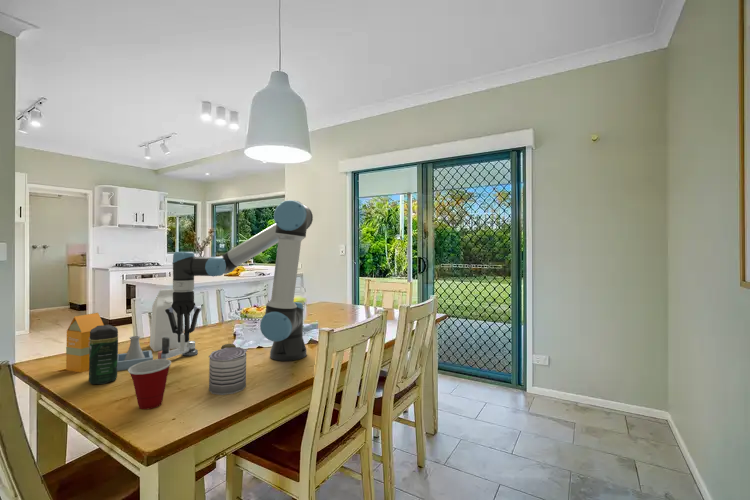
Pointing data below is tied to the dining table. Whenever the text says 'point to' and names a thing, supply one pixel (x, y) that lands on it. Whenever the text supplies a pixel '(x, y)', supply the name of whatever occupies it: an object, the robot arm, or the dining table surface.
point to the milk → (162, 321)
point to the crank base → (190, 353)
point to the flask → (134, 349)
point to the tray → (128, 363)
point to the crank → (175, 352)
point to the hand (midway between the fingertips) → (183, 350)
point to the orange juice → (80, 341)
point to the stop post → (159, 355)
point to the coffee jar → (103, 354)
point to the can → (227, 371)
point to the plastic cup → (150, 382)
